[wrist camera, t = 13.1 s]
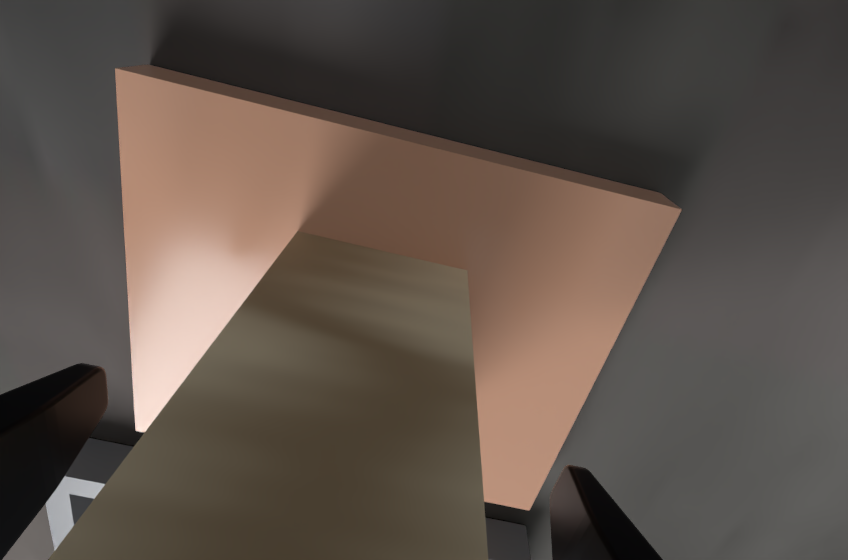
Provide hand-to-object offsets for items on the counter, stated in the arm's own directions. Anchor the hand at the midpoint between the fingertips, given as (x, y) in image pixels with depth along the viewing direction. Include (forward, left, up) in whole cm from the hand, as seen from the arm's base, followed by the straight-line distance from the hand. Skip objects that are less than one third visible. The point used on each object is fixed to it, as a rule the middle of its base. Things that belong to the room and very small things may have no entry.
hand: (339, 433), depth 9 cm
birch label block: (0, 0, -3) cm, 3 cm away
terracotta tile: (0, 0, -4) cm, 4 cm away
